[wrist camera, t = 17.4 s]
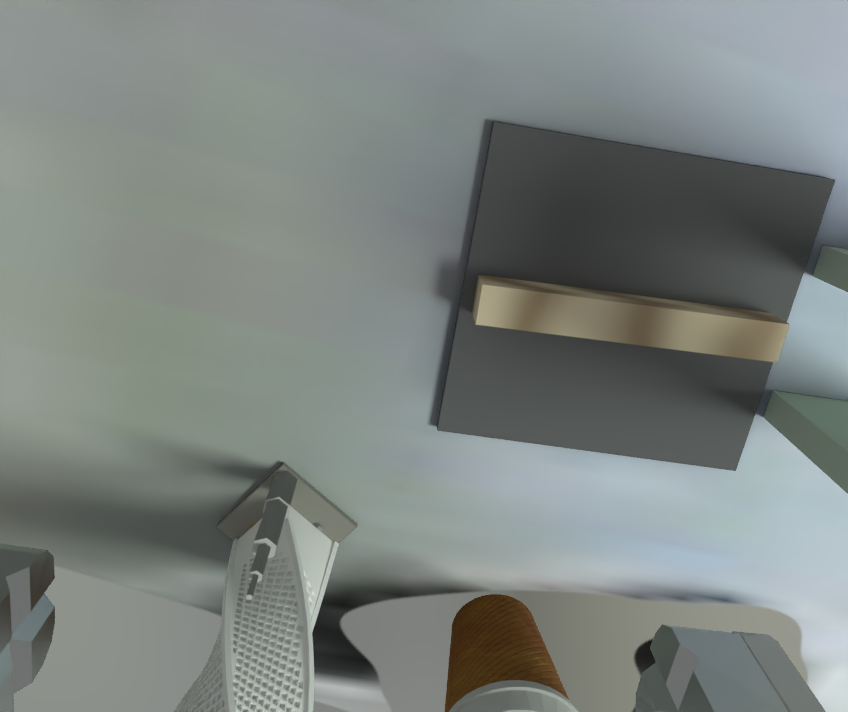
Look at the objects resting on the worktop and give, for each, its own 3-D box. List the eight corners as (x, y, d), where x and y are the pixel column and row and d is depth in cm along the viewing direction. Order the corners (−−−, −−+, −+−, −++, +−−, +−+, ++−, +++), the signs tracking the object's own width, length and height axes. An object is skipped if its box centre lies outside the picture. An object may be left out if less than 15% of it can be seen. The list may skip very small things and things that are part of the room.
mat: (493, 121, 43) (494, 121, 43) (829, 178, 45) (835, 179, 44) (436, 426, 50) (437, 430, 49) (732, 466, 51) (735, 470, 51)
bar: (472, 312, 46) (475, 324, 44) (478, 274, 46) (482, 284, 43) (759, 349, 48) (777, 362, 45) (770, 312, 47) (789, 324, 45)
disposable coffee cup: (580, 633, 56) (624, 769, 45) (482, 697, 58) (500, 843, 47) (504, 552, 53) (531, 676, 42) (404, 622, 55) (404, 758, 44)
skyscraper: (371, 536, 53) (338, 981, 26) (295, 602, 54) (192, 1082, 28) (283, 462, 50) (152, 867, 24) (207, 533, 52) (6, 984, 26)
